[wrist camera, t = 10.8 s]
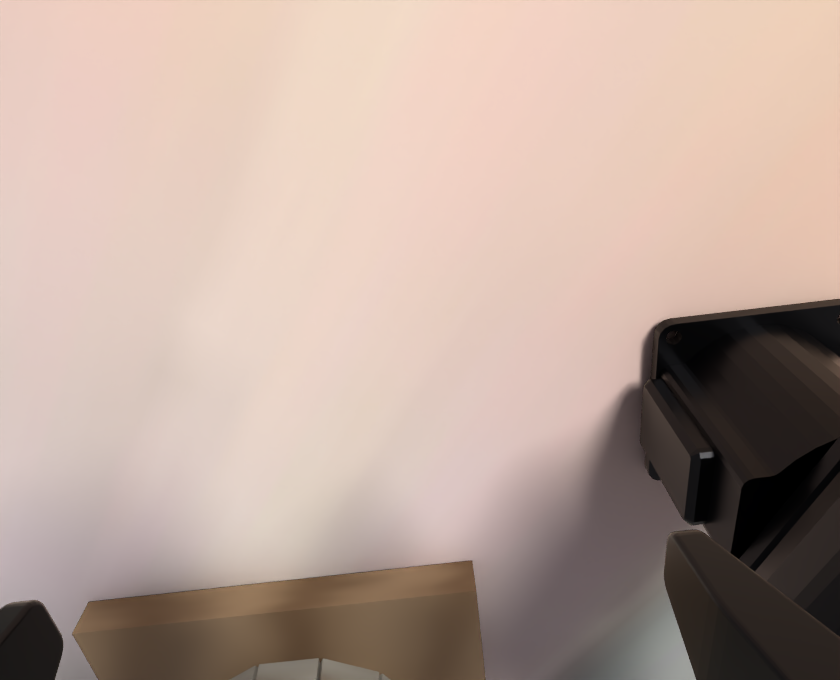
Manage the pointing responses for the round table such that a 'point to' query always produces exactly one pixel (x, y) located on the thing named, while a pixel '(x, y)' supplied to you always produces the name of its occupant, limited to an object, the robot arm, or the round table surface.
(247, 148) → the round table surface
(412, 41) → the round table surface
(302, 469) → the round table surface
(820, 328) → the robot arm
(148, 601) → the socket base
